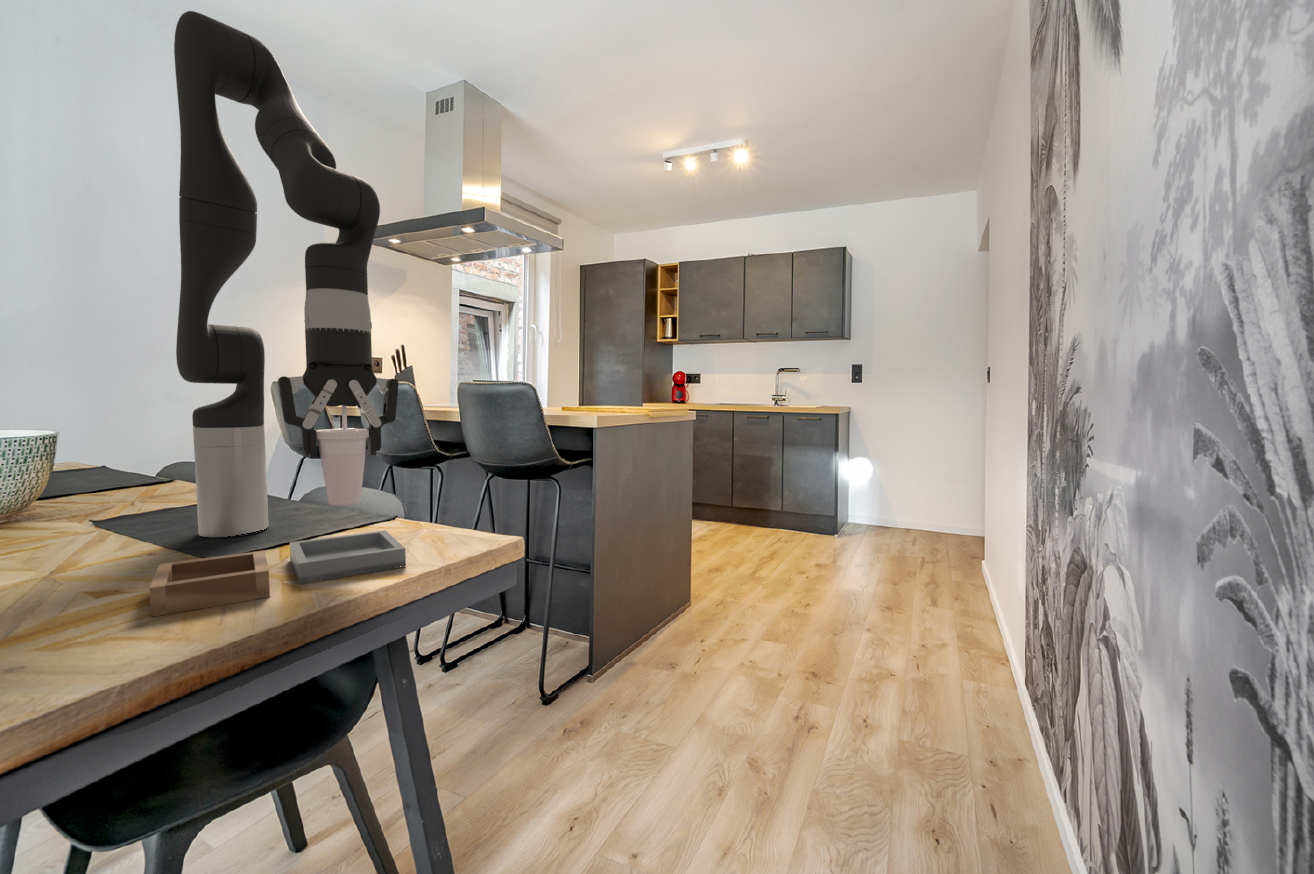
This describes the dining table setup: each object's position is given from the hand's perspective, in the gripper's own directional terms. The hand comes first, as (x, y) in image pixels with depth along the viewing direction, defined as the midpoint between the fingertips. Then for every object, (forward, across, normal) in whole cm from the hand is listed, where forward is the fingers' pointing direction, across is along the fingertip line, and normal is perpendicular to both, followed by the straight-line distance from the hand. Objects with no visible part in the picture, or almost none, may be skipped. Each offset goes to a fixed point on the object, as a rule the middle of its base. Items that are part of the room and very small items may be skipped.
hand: (343, 456), depth 75 cm
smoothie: (+6, 0, 0) cm, 6 cm away
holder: (+14, +14, +4) cm, 20 cm away
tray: (+14, 0, 0) cm, 14 cm away
